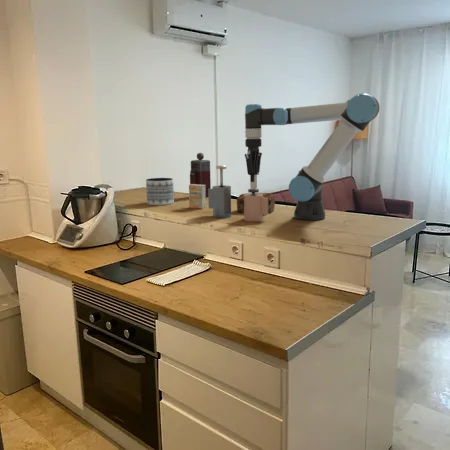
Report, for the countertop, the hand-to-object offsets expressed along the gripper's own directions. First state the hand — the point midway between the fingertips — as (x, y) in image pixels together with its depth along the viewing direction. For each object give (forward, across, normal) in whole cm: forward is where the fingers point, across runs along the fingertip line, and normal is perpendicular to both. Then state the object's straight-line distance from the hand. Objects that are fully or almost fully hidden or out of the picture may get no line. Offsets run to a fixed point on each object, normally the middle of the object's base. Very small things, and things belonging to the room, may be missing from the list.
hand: (253, 188), depth 223 cm
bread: (+16, -20, -10) cm, 27 cm away
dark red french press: (+15, -48, -65) cm, 82 cm away
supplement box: (+15, -14, -43) cm, 48 cm away
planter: (+15, -17, -72) cm, 76 cm away
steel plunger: (+3, 0, -18) cm, 18 cm away
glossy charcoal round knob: (+12, 0, 0) cm, 12 cm away
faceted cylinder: (+15, 0, -20) cm, 25 cm away
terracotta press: (+15, 0, +1) cm, 15 cm away
